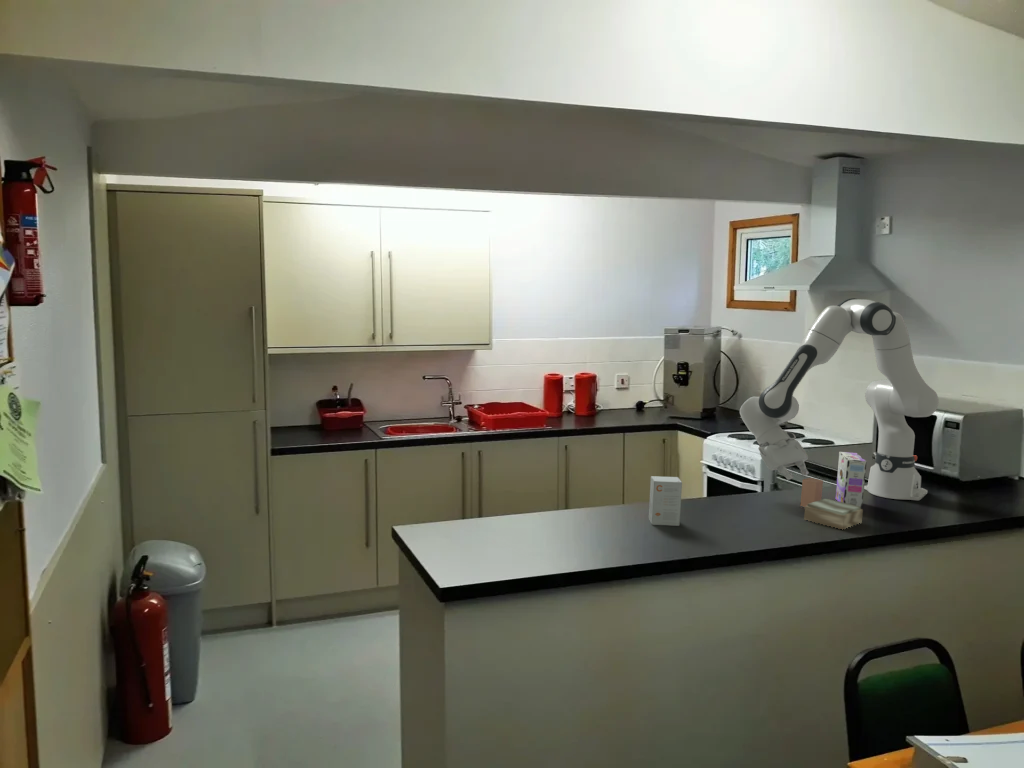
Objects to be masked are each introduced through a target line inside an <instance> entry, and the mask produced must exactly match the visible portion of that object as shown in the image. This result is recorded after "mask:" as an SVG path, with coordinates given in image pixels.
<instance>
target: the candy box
mask: <svg viewBox="0 0 1024 768" xmlns="http://www.w3.org/2000/svg"><path fill="white" fill-rule="evenodd" d="M837 464H838V465H837V466H838V467H837V476H836V489H835V499H836V500H837V501H839V502H843V503H847V504H852V505H856V506H860V507H861V509H863V500H864V492H865V491H864V490H865V489H864V486H865V479H866V472H867V470H866V469H867V460H866V459H864V458H863V457H862V456H861V455H860V454H859V453H857V452H848V451H839V452H838V463H837ZM836 500H835V501H836Z"/></svg>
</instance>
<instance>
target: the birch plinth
mask: <svg viewBox="0 0 1024 768" xmlns="http://www.w3.org/2000/svg"><path fill="white" fill-rule="evenodd" d="M863 513H864V509H863V508H862V509H861V507H860V506H856V505H852V504H847V503H843V502H839V501H836V500H834V499H831V498H823V499H822V498H821V500H819V501H816V502H812V503H809V504H808V506H805V508H804V515H803V520H804V521H806V520H808V521H807V522H810V521H812V522H811V523H814V522H815V524H818V523H820V524H819V525H821V524H823V525H822V526H825V525H827V526H826V527H829V526H831V527H830V528H833V527H835V528H834V529H836V528H838V529H837V530H840V529H842V530H841V531H844V530H846V528H847V529H849V528H848V527H850V528H852V527H854V526H853V525H855V526H857V525H856V524H858V525H860V524H863V522H862V521H863ZM859 523H860V524H859ZM851 526H852V527H851ZM843 529H844V530H843Z"/></svg>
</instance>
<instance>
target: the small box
mask: <svg viewBox="0 0 1024 768" xmlns="http://www.w3.org/2000/svg"><path fill="white" fill-rule="evenodd" d="M649 485H650V487H649V488H650V489H649V503H648V504H649V505H648V520H649V522H650V524H651V525H652V526H670V527H672V526H674V527H675V526H676V527H679V526H680V521H681V510H682V508H681V504H682V490H683V482H682V481H681V479H680V478H679V476H656V475H655V476H652V475H651V476H650V484H649Z"/></svg>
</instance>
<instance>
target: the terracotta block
mask: <svg viewBox="0 0 1024 768" xmlns="http://www.w3.org/2000/svg"><path fill="white" fill-rule="evenodd" d="M823 484H824V481H823V480H822V479H817V478H814V477H808V478H807V477H806V478H803V479H802V484H801V494H800V506H803V507H805V506H808V504H809V503H812V502H816V501H819V500H822V497H823V496H822V495H823V487H824V485H823Z"/></svg>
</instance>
